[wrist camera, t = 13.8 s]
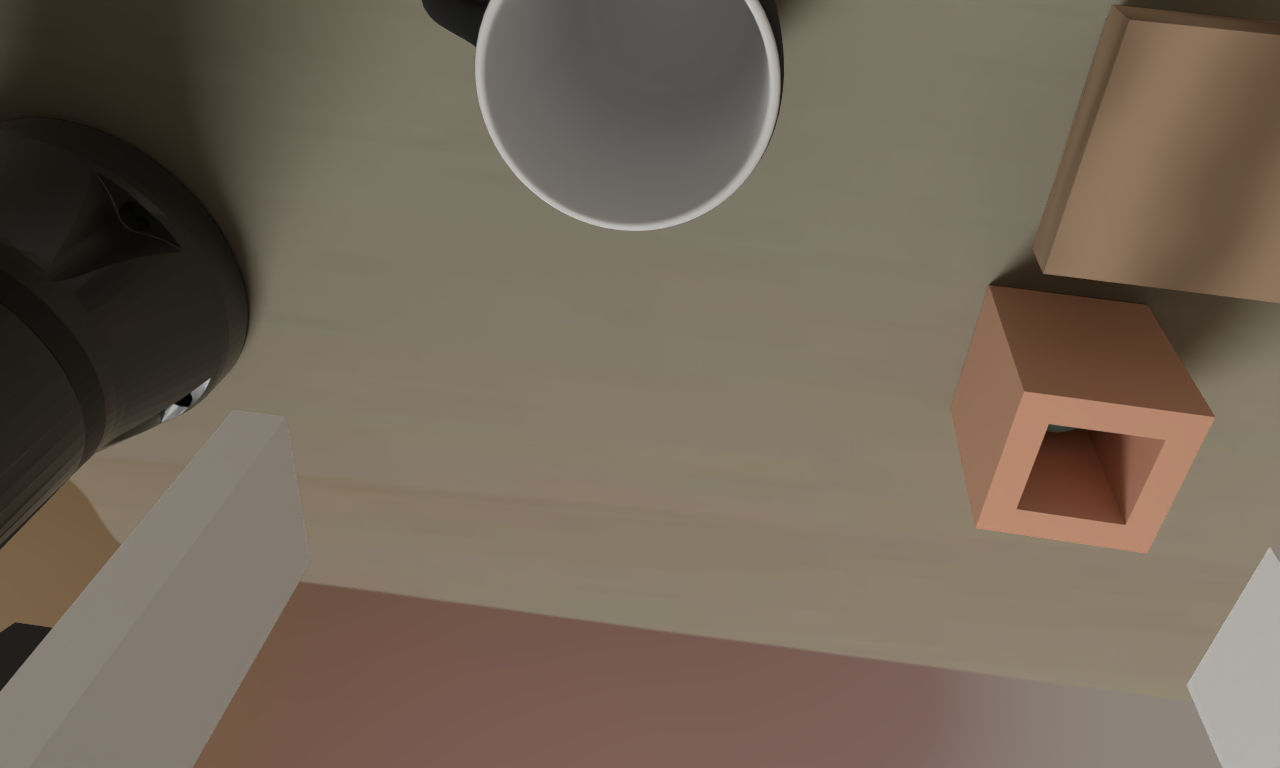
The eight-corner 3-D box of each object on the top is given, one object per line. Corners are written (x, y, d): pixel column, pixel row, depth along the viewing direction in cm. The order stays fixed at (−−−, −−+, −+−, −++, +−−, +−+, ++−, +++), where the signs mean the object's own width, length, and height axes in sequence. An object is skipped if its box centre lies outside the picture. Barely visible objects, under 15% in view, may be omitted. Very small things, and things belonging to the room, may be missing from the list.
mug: (824, -83, 33) (830, -27, 25) (745, 155, 38) (727, 268, 30) (493, -186, 33) (386, -163, 25) (457, 68, 38) (358, 157, 30)
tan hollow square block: (950, 409, 43) (975, 528, 37) (988, 284, 40) (1023, 391, 33) (1095, 429, 43) (1147, 553, 36) (1147, 305, 39) (1215, 417, 33)
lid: (1031, 248, 35) (1043, 273, 33) (1111, 4, 30) (1129, 19, 28) (1274, 278, 34) (1298, 305, 32) (1395, 33, 29) (1430, 50, 28)
